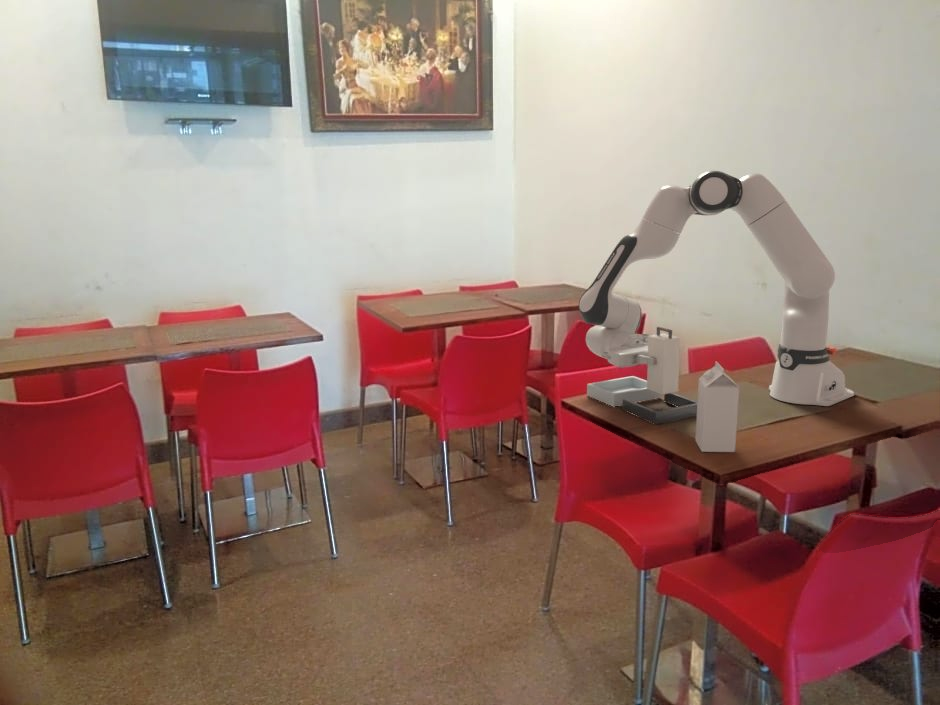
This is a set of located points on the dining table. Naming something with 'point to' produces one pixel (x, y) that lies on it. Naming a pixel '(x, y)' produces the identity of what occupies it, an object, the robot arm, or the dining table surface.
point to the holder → (657, 417)
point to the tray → (621, 390)
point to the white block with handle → (663, 362)
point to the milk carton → (716, 411)
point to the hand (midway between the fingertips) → (664, 359)
